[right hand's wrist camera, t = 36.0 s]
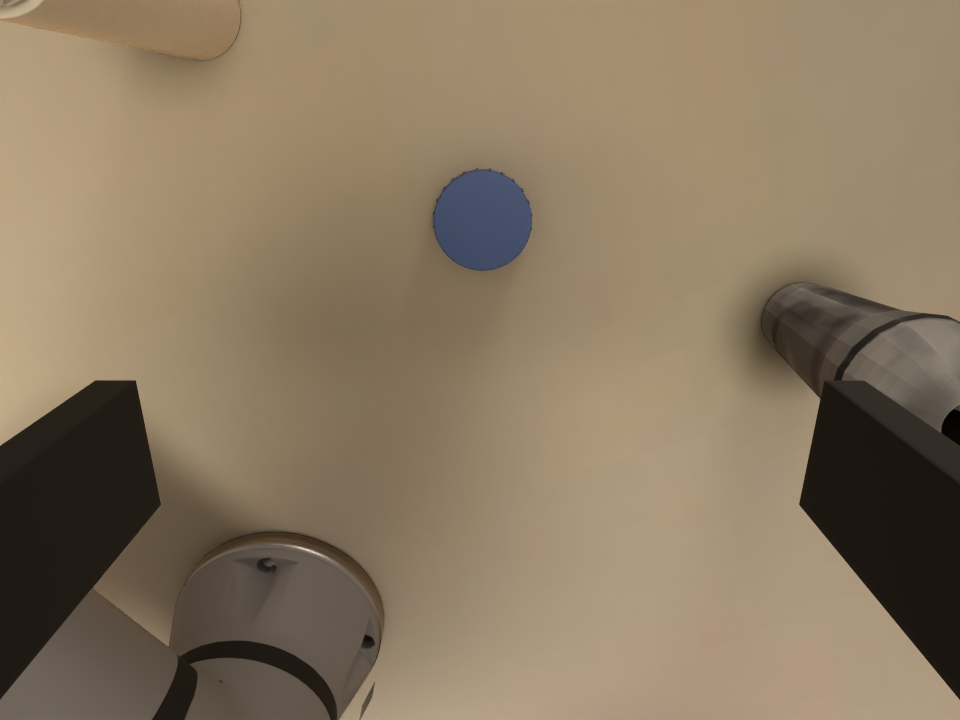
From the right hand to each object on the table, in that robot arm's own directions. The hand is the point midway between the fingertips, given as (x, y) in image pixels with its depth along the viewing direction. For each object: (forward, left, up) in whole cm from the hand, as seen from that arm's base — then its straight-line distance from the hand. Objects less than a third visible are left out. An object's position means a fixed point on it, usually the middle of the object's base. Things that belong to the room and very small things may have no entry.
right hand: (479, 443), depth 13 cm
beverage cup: (+10, -18, -29) cm, 36 cm away
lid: (0, 0, -27) cm, 27 cm away
